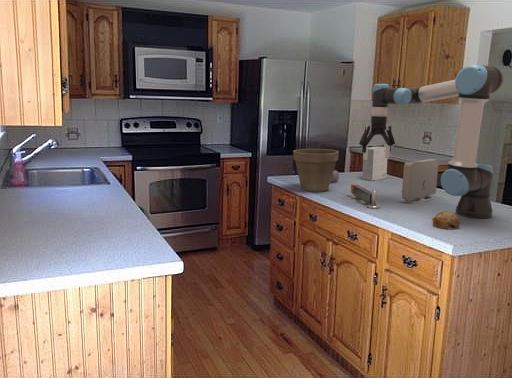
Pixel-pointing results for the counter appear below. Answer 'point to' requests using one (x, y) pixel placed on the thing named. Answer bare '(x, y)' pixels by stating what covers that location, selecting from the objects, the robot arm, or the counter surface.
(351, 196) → the psu label
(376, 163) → the hard drive box
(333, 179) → the small grey backpack
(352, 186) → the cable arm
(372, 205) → the pivot post
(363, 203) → the power supply label
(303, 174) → the plant pot
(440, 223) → the bread roll
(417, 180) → the network device
